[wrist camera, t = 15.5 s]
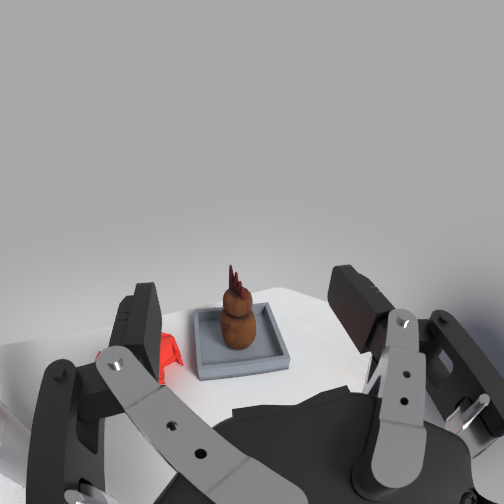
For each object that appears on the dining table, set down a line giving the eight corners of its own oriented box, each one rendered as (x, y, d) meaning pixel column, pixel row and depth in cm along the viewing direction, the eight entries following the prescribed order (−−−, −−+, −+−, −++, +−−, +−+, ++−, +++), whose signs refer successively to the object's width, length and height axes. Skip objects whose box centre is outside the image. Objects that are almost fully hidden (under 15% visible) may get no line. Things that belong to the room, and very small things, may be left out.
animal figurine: (98, 356, 42) (89, 337, 40) (171, 337, 48) (166, 318, 46) (105, 406, 33) (92, 389, 31) (191, 384, 39) (185, 365, 37)
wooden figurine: (219, 331, 49) (214, 261, 42) (249, 326, 50) (250, 257, 43) (225, 358, 43) (221, 286, 36) (259, 352, 45) (263, 281, 38)
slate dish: (199, 380, 40) (197, 370, 38) (195, 321, 52) (193, 309, 51) (288, 368, 43) (290, 357, 41) (267, 313, 55) (268, 302, 54)
